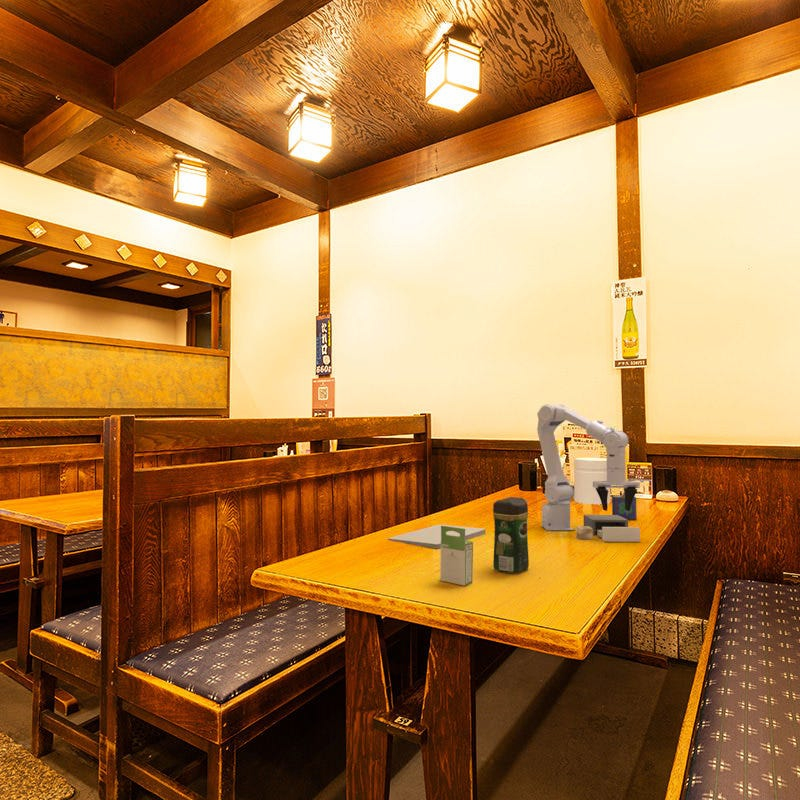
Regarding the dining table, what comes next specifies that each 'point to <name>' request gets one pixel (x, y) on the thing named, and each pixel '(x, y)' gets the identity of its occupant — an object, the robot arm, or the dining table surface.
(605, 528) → the tray
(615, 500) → the flask
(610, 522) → the block
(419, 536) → the electronic device
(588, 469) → the canister
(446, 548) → the ink box
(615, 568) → the dining table surface
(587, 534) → the pedestal
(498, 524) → the coffee jar
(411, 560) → the dining table surface
